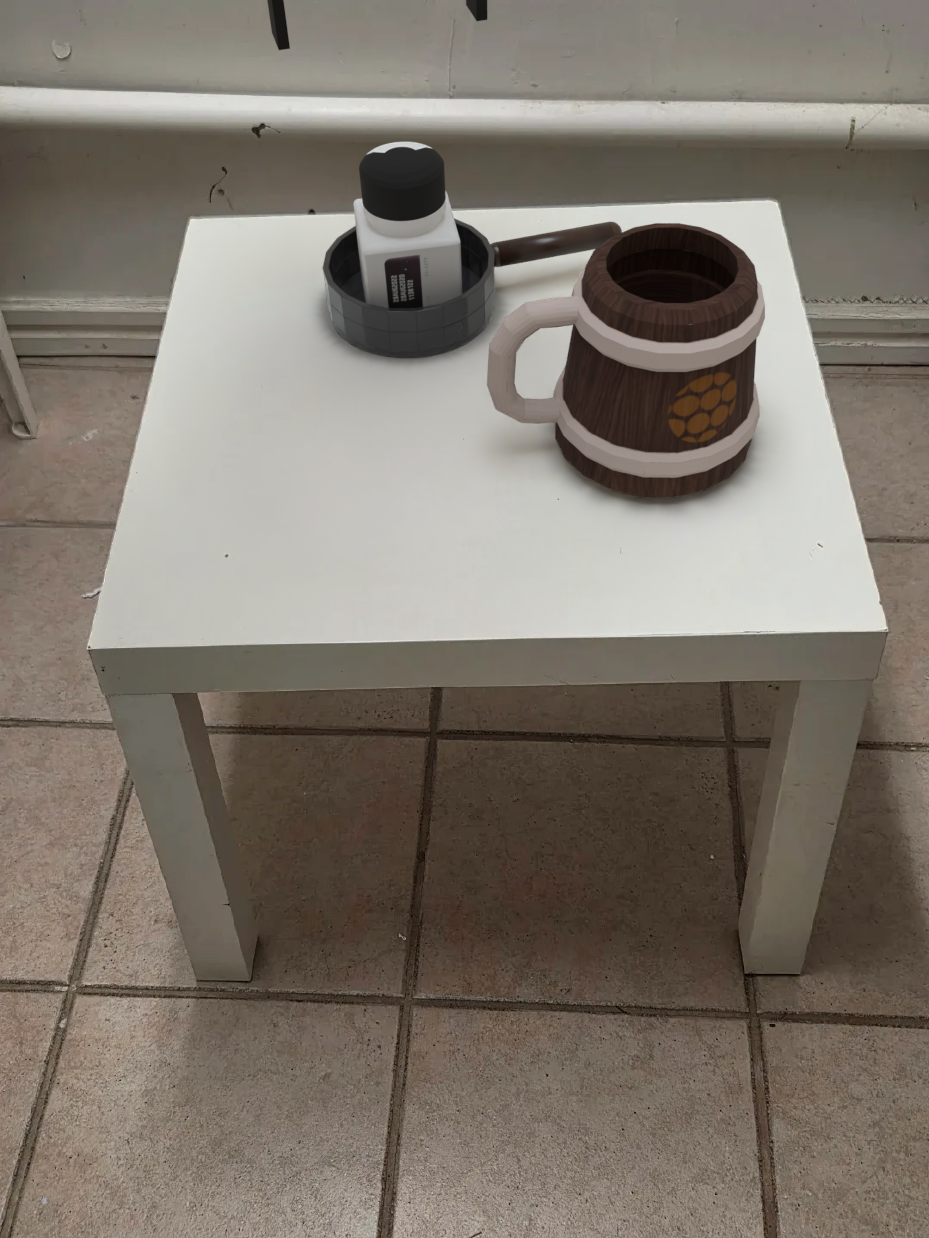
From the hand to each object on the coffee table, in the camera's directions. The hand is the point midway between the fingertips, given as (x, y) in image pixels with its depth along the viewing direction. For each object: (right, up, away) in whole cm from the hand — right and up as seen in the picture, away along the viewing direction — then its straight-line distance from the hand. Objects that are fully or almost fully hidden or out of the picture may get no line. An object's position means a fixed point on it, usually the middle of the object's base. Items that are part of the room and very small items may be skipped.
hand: (380, 27), depth 81 cm
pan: (+1, -14, +20) cm, 24 cm away
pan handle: (+13, -9, +20) cm, 26 cm away
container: (+1, -13, +20) cm, 24 cm away
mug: (+17, -27, +9) cm, 33 cm away
